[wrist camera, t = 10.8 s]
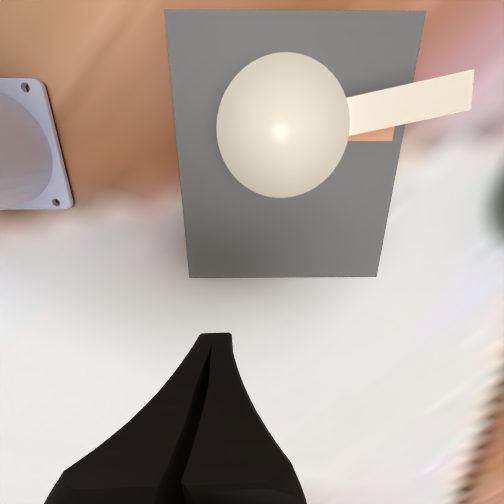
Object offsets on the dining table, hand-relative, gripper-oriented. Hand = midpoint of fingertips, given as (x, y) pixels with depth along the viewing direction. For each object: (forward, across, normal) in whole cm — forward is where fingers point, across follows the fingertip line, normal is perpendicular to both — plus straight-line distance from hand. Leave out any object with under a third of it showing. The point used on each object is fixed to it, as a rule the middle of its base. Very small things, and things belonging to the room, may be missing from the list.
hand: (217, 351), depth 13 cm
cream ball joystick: (+8, -6, -9) cm, 13 cm away
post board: (+10, -4, -7) cm, 13 cm away
